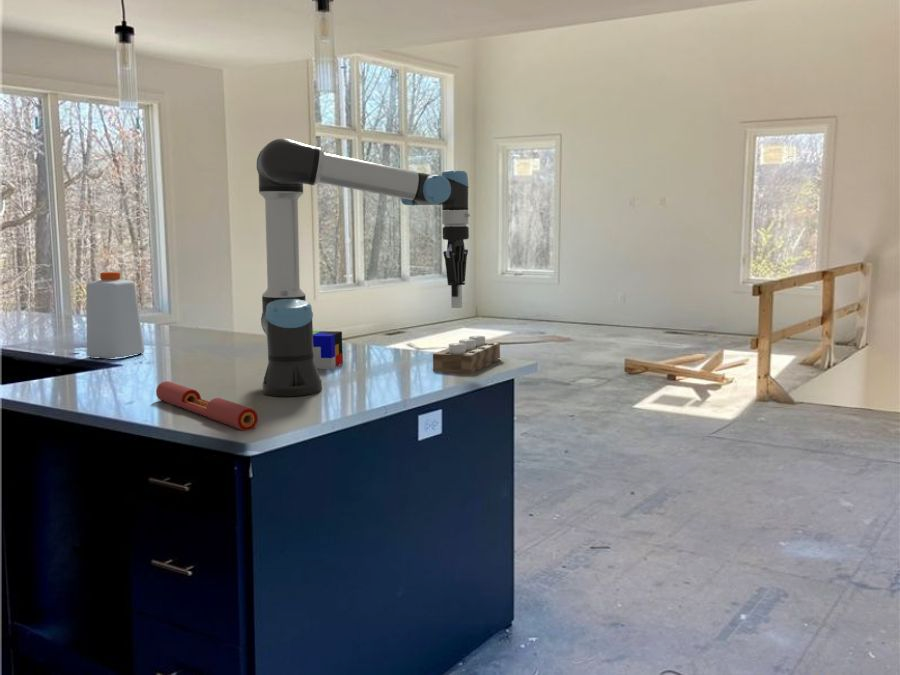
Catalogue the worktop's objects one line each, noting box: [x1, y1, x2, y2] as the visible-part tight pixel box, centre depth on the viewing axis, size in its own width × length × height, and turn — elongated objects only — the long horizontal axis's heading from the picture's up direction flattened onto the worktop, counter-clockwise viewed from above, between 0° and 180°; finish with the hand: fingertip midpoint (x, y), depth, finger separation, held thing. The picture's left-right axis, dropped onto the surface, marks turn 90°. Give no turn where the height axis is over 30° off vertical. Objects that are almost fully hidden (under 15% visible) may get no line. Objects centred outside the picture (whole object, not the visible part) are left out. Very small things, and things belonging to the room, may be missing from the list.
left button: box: [448, 342, 466, 355], centre depth 239 cm, size 5×5×4 cm
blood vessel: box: [155, 380, 259, 431], centre depth 189 cm, size 42×5×5 cm, turn 42°
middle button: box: [458, 338, 476, 351], centre depth 247 cm, size 5×5×4 cm
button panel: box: [432, 342, 501, 374], centre depth 247 cm, size 24×12×6 cm, turn 157°
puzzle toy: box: [313, 330, 344, 370], centre depth 249 cm, size 10×10×10 cm
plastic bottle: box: [85, 271, 145, 358], centre depth 272 cm, size 15×15×28 cm
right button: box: [468, 335, 486, 347], centre depth 254 cm, size 5×5×4 cm
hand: (456, 307), depth 237 cm, fingers closed
